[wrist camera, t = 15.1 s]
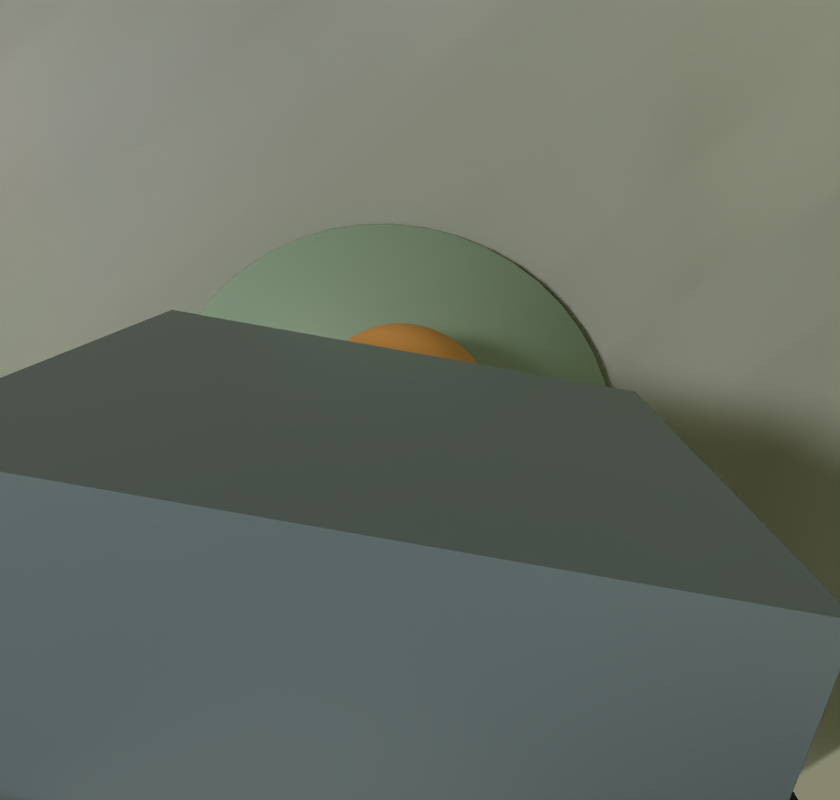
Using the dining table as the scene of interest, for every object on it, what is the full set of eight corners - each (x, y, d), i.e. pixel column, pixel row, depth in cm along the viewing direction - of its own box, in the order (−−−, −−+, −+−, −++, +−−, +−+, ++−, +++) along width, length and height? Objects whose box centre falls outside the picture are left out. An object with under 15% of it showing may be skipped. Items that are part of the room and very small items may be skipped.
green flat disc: (179, 184, 20) (177, 184, 20) (665, 270, 20) (667, 270, 20) (150, 610, 24) (147, 613, 24) (556, 678, 24) (557, 682, 24)
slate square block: (172, 310, 15) (-163, 443, 7) (635, 392, 16) (858, 622, 7) (141, 702, 18) (-125, 1138, 10) (535, 770, 18) (610, 1260, 10)
